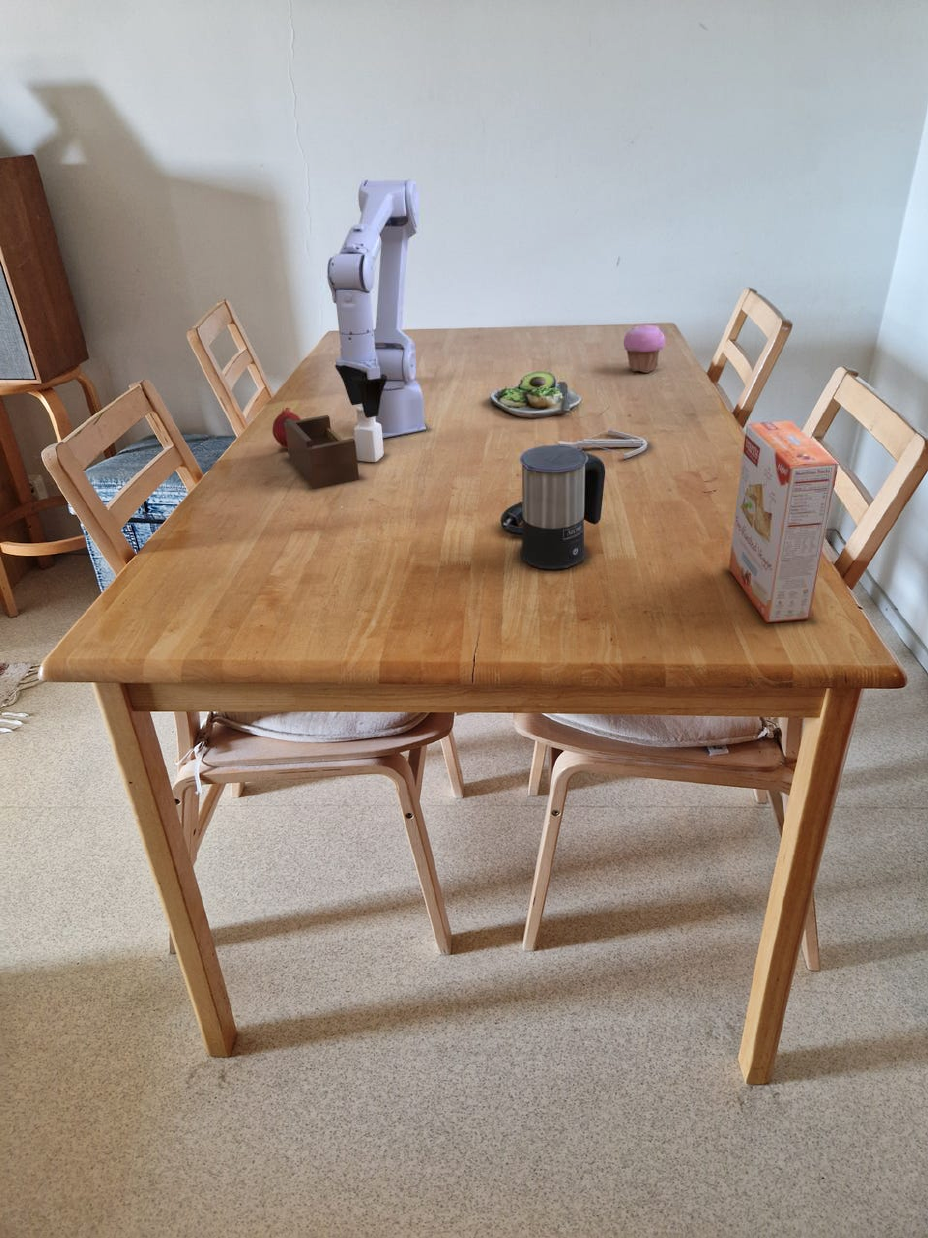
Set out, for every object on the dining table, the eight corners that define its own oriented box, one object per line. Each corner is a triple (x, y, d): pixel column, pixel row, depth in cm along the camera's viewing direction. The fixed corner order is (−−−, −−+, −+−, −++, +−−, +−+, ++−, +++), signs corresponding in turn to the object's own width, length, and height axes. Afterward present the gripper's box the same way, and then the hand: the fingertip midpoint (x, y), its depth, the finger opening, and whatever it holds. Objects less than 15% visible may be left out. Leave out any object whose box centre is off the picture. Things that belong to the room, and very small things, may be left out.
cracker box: (724, 570, 121) (744, 421, 110) (768, 566, 122) (792, 418, 110) (763, 625, 109) (789, 464, 98) (811, 621, 110) (842, 460, 99)
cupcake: (668, 368, 200) (672, 322, 195) (653, 378, 194) (657, 331, 189) (631, 363, 204) (634, 318, 199) (615, 373, 198) (618, 327, 193)
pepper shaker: (385, 455, 162) (380, 404, 157) (376, 463, 158) (371, 411, 153) (365, 453, 163) (359, 402, 158) (355, 461, 160) (350, 409, 155)
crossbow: (637, 437, 167) (638, 426, 166) (654, 463, 156) (655, 451, 155) (552, 437, 165) (553, 426, 164) (563, 463, 155) (564, 451, 154)
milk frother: (566, 577, 121) (569, 475, 113) (467, 551, 129) (464, 454, 121) (610, 535, 131) (615, 438, 124) (516, 514, 139) (515, 421, 131)
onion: (300, 455, 163) (294, 413, 159) (270, 454, 164) (264, 412, 160) (311, 444, 168) (305, 402, 164) (282, 443, 169) (276, 401, 165)
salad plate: (603, 412, 177) (604, 389, 174) (522, 427, 171) (522, 404, 169) (557, 386, 192) (557, 364, 190) (481, 399, 186) (480, 377, 184)
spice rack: (331, 451, 164) (326, 409, 160) (359, 479, 153) (354, 434, 149) (289, 459, 162) (283, 417, 157) (314, 488, 150) (308, 443, 146)
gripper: (320, 324, 153) (329, 402, 160) (347, 343, 142) (356, 426, 149) (359, 318, 155) (366, 395, 162) (389, 337, 144) (395, 418, 151)
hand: (364, 409), depth 156 cm, fingers open, 7 cm apart
